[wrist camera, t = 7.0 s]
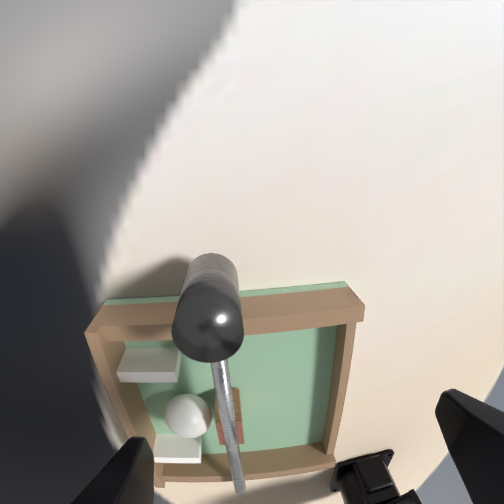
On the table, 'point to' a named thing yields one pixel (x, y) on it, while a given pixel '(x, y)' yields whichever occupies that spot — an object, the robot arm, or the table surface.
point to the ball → (188, 416)
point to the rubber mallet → (215, 343)
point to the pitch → (235, 380)
